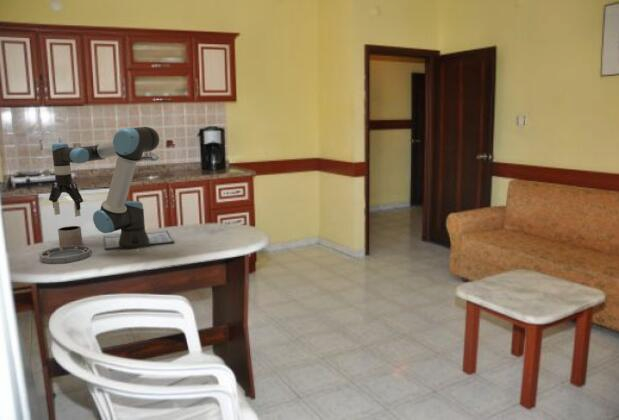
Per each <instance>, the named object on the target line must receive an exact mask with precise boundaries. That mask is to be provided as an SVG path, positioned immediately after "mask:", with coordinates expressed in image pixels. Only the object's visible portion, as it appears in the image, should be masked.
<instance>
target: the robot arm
mask: <svg viewBox="0 0 619 420" xmlns="http://www.w3.org/2000/svg"><path fill="white" fill-rule="evenodd" d="M159 145H160V136H159V133H158V132H157V131H156V130H155V129H154V128H153V127H149V126H140V127H125V128H121V129H119V130H118V131H116V133H115V134H114V136H113V137H112V140H111V141H110V140H109V141H107V142H102V143H99V144H95V145H87V146H77V147H73V146H72V147H70V146H69V143H68V142H54V143H52V145H51V153H52V161H53V170H54V171H53V172H54V174H55V176H54V180H55V182H53V183H52V184H51V190H50V194H49V197H48V201H50V202H52V207H53V211H54V215H55V216H57V215H60V214H61V211H60V203H59V198H60V197H61V195H62V193H66V194H68V195H69V197H70V198H71V199H72V201H73V202H74V203H73V208H74V215H75V217H81V209H82V207H81V203H83V202H84V200H83V197H82V195H81V193H80V191H79V189H78V184H77V183H72V181H73V178H72V168H71V163H74V164H85V163H87V162H92V161H93V162H95V161H102V160H106V159H107V158H112V157H116V156H117V159H116V163H115V167H114V171H113V175H112V178H111V181H110V185H109V190H108V192H107V195H106V196H107V197H106V200H103V201H102V203H101V205H100V209H97V210H96V211H94V213H93V214H92V221H93V225H94V226H95V228H96V229H97V231H99V232H101V233H102V234H109V233H110V234H111V233H113V232H116V231H119V230H120V235H119V241H118V248H119V249H123V250H136V249H141V248H146V247H148V246H149V245H150V244H151V243H150V238H149V236H148V234H147V231H146V228H145V227H146V225H145V211H144V205H143V203H142V201H139V200H138V201H137V200H127V197H128V196H129V191H130V189H131V184H132V180H133V177H134V174H135V170H136V167H137V163H138V162H140V161H141V160H142V158H143V155H144V153H148V152H151V151H154V150H156V149H157V148H158V146H159Z"/></svg>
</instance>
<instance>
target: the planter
mask: <svg viewBox="0 0 619 420" xmlns="http://www.w3.org/2000/svg"><path fill="white" fill-rule="evenodd" d="M57 232H58V241H59V244H58V245H59V247H63V246H74V245H81V246H83V244H84V243H83V236H82V234H83V233H82V227H81V226H80V225H79V226H78V225H70V226H69V225H68V226H63V227H59V228H58V229H57Z"/></svg>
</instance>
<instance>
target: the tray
mask: <svg viewBox="0 0 619 420" xmlns="http://www.w3.org/2000/svg"><path fill="white" fill-rule="evenodd" d="M92 250H93V249H92V248H91V247H90V246H88V245H74V246H63V247H60V246H58V247H52V248H50V249H47V250H43V251H42V252H41V253H39V254H38V255H39V260H40V262H42V263H44V264H51V265H56V264H57V265H58V264H60V265H61V264H67V263H74V262H78V261H82V260H84V259H87V258H89V257H90V256H91V255H92V252H93V251H92Z"/></svg>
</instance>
